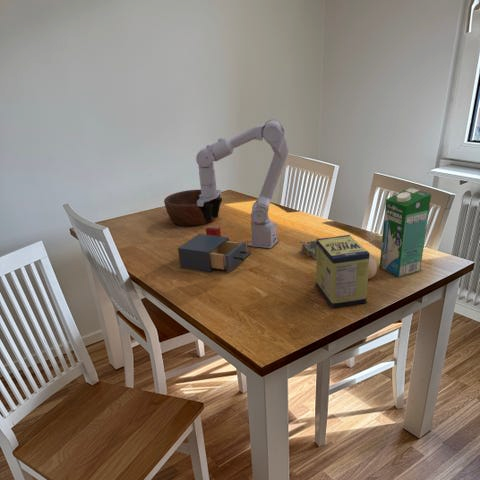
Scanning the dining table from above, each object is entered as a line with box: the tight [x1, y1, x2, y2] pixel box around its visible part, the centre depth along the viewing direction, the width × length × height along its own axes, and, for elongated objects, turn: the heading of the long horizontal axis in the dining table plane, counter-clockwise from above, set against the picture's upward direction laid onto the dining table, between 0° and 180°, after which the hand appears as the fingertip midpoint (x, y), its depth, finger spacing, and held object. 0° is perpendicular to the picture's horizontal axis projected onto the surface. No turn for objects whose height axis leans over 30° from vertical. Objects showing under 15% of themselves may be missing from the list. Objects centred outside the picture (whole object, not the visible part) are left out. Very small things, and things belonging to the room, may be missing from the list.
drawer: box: [209, 240, 252, 273], centre depth 159 cm, size 15×13×6 cm
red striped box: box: [205, 225, 222, 236], centre depth 176 cm, size 5×3×8 cm, turn 63°
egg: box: [368, 254, 378, 280], centre depth 142 cm, size 6×6×8 cm
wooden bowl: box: [163, 189, 221, 227], centre depth 205 cm, size 25×25×10 cm
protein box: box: [315, 234, 371, 309], centre depth 133 cm, size 10×16×16 cm
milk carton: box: [379, 187, 432, 278], centre depth 142 cm, size 9×9×25 cm
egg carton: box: [299, 239, 317, 260], centre depth 163 cm, size 11×8×4 cm
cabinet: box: [177, 233, 230, 273], centre depth 163 cm, size 12×14×7 cm
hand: (211, 219), depth 173 cm, fingers open, 4 cm apart
